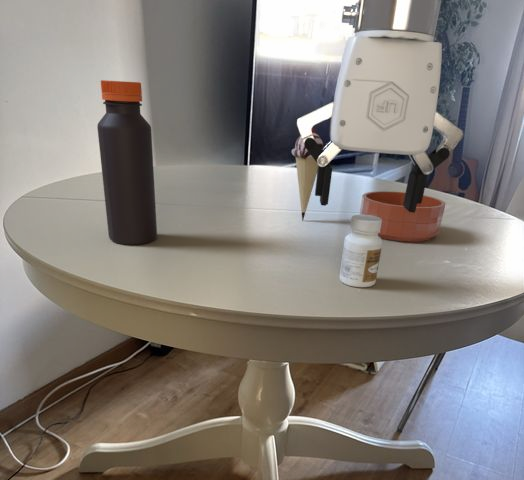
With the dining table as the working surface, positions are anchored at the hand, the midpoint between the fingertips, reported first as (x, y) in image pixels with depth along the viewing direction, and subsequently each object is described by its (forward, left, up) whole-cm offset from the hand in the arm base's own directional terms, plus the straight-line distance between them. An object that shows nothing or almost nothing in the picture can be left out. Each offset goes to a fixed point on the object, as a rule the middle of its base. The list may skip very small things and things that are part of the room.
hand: (366, 206), depth 54 cm
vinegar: (+31, -12, -9) cm, 34 cm away
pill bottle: (0, 0, -9) cm, 9 cm away
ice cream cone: (+6, -30, -9) cm, 32 cm away
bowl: (-10, -26, -9) cm, 30 cm away
